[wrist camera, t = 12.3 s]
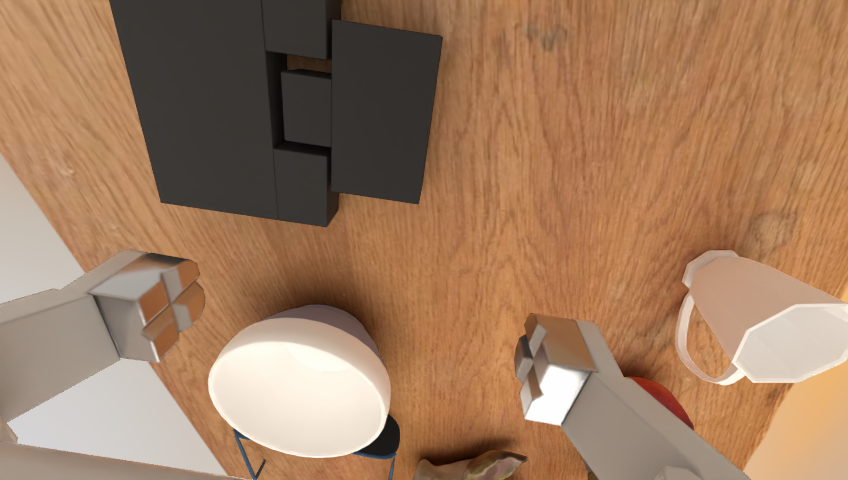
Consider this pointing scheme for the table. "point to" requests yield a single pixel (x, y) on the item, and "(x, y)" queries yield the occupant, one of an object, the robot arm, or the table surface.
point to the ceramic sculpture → (472, 467)
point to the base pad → (227, 102)
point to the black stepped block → (368, 109)
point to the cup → (762, 320)
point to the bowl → (303, 383)
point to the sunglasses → (377, 449)
